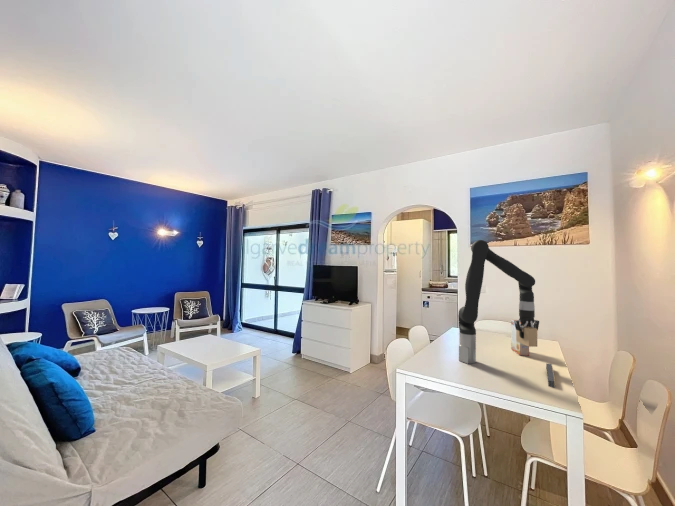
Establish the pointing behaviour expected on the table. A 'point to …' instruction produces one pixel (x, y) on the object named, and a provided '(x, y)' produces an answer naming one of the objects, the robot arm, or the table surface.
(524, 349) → the cracker box
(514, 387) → the table surface
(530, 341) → the carton
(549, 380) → the rail
